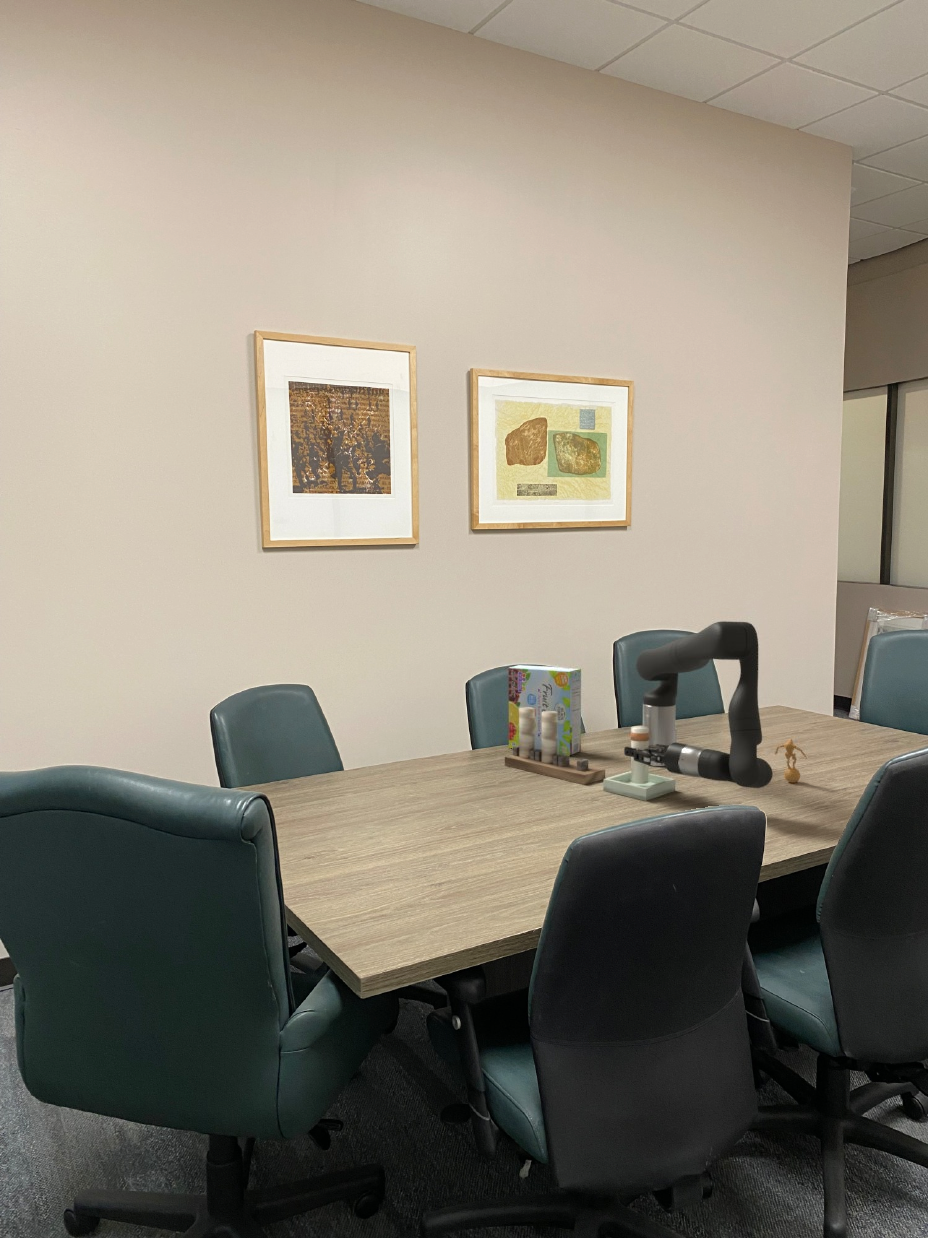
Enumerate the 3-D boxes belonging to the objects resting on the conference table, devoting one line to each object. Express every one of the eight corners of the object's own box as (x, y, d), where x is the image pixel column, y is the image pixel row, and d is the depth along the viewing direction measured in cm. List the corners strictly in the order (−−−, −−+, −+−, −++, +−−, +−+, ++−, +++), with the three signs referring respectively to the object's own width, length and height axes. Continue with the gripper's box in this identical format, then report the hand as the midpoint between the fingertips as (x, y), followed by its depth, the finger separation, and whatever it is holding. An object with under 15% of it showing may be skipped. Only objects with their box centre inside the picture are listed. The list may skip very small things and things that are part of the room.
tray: (633, 781, 234) (633, 770, 234) (675, 790, 225) (675, 779, 224) (603, 790, 225) (603, 779, 225) (645, 801, 216) (646, 789, 215)
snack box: (582, 751, 268) (583, 668, 266) (570, 757, 261) (570, 671, 259) (520, 743, 280) (520, 663, 278) (507, 748, 273) (506, 666, 271)
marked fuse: (637, 778, 228) (637, 725, 227) (652, 781, 225) (652, 727, 224) (626, 781, 225) (627, 727, 224) (641, 785, 221) (642, 730, 220)
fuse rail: (525, 760, 258) (525, 704, 257) (605, 778, 237) (605, 718, 236) (504, 765, 252) (504, 708, 250) (584, 784, 231) (584, 722, 229)
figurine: (810, 783, 231) (811, 738, 230) (802, 788, 226) (803, 742, 225) (779, 778, 236) (780, 734, 235) (770, 783, 231) (771, 738, 230)
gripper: (704, 740, 218) (646, 730, 231) (672, 750, 209) (614, 739, 221) (704, 770, 219) (646, 758, 231) (672, 781, 209) (613, 768, 221)
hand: (631, 749), depth 226 cm, fingers closed on marked fuse, 4 cm apart
